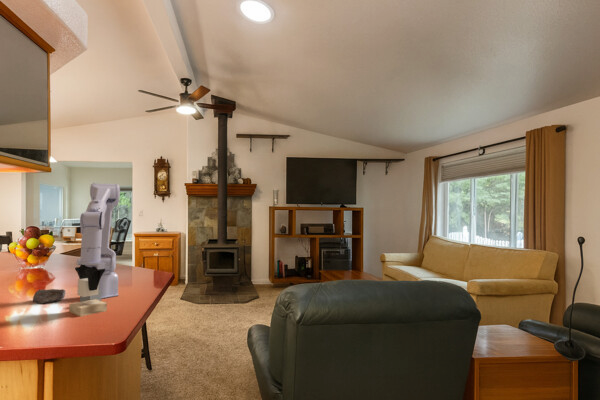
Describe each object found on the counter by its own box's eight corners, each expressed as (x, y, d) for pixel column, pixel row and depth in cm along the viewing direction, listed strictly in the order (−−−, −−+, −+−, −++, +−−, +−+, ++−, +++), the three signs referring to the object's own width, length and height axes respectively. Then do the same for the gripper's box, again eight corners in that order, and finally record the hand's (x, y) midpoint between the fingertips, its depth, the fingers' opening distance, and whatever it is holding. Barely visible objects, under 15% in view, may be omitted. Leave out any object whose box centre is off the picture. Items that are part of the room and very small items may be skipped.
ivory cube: (91, 292, 117) (92, 277, 118) (98, 294, 115) (98, 279, 115) (77, 294, 114) (78, 279, 114) (83, 296, 111) (84, 281, 111)
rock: (66, 296, 133) (67, 286, 133) (55, 304, 123) (56, 292, 123) (39, 298, 131) (40, 287, 131) (26, 305, 120) (26, 293, 120)
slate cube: (91, 303, 124) (92, 289, 125) (100, 304, 123) (101, 290, 123) (79, 306, 120) (80, 291, 120) (89, 307, 119) (90, 293, 119)
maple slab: (94, 307, 120) (95, 298, 120) (106, 312, 115) (107, 302, 115) (69, 313, 113) (69, 303, 113) (80, 317, 109) (80, 307, 109)
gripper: (67, 246, 116) (65, 287, 115) (89, 250, 108) (87, 294, 107) (90, 245, 122) (88, 284, 121) (112, 248, 114) (110, 290, 113)
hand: (89, 289), depth 115 cm, fingers closed on ivory cube, 5 cm apart
